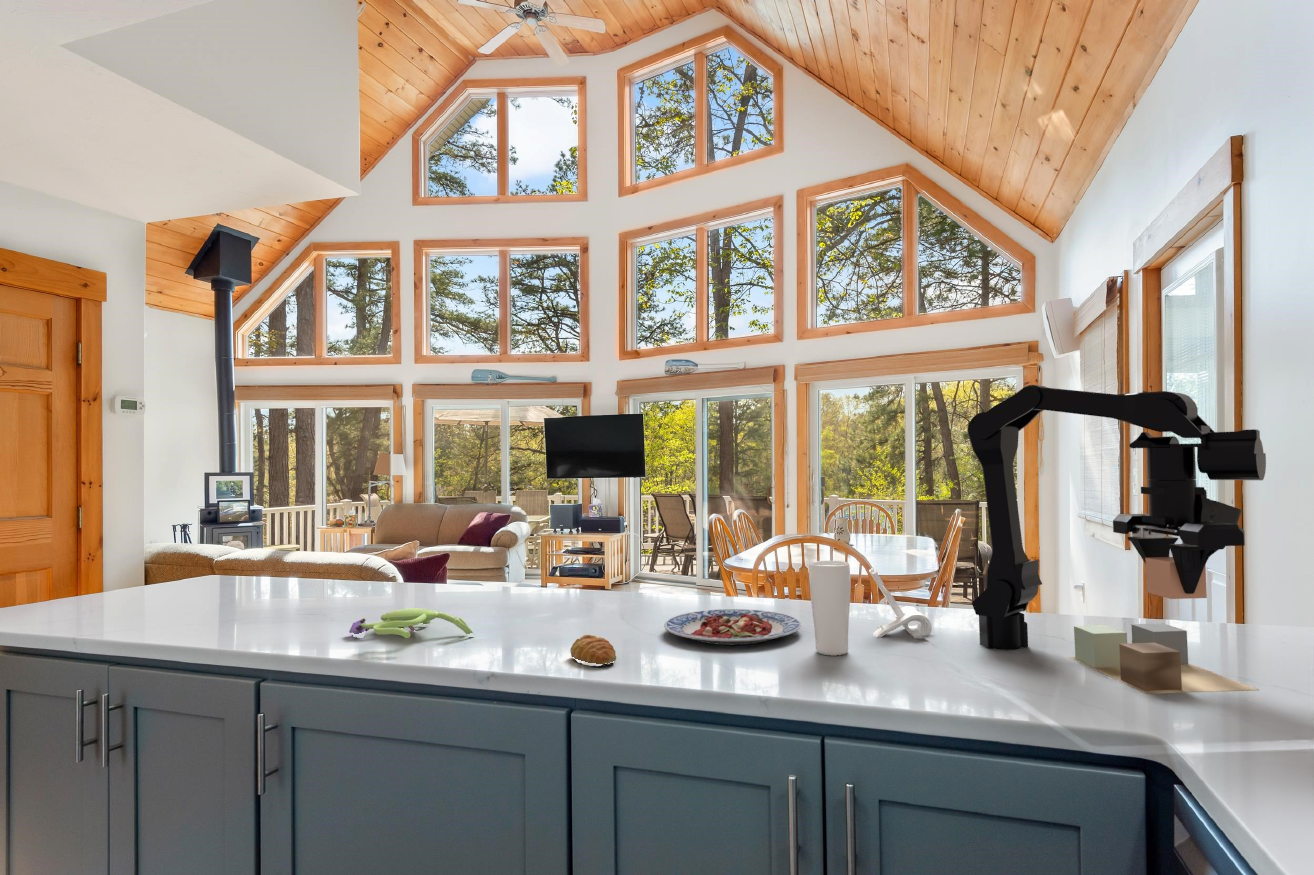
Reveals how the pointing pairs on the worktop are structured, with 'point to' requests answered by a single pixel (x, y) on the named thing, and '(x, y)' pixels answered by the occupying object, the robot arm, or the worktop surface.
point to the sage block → (1098, 645)
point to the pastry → (593, 650)
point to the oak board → (1185, 680)
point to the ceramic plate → (732, 626)
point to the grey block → (1162, 637)
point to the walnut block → (1150, 666)
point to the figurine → (405, 622)
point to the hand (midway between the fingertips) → (1175, 590)
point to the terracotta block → (1170, 580)
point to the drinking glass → (830, 605)
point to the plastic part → (902, 615)
